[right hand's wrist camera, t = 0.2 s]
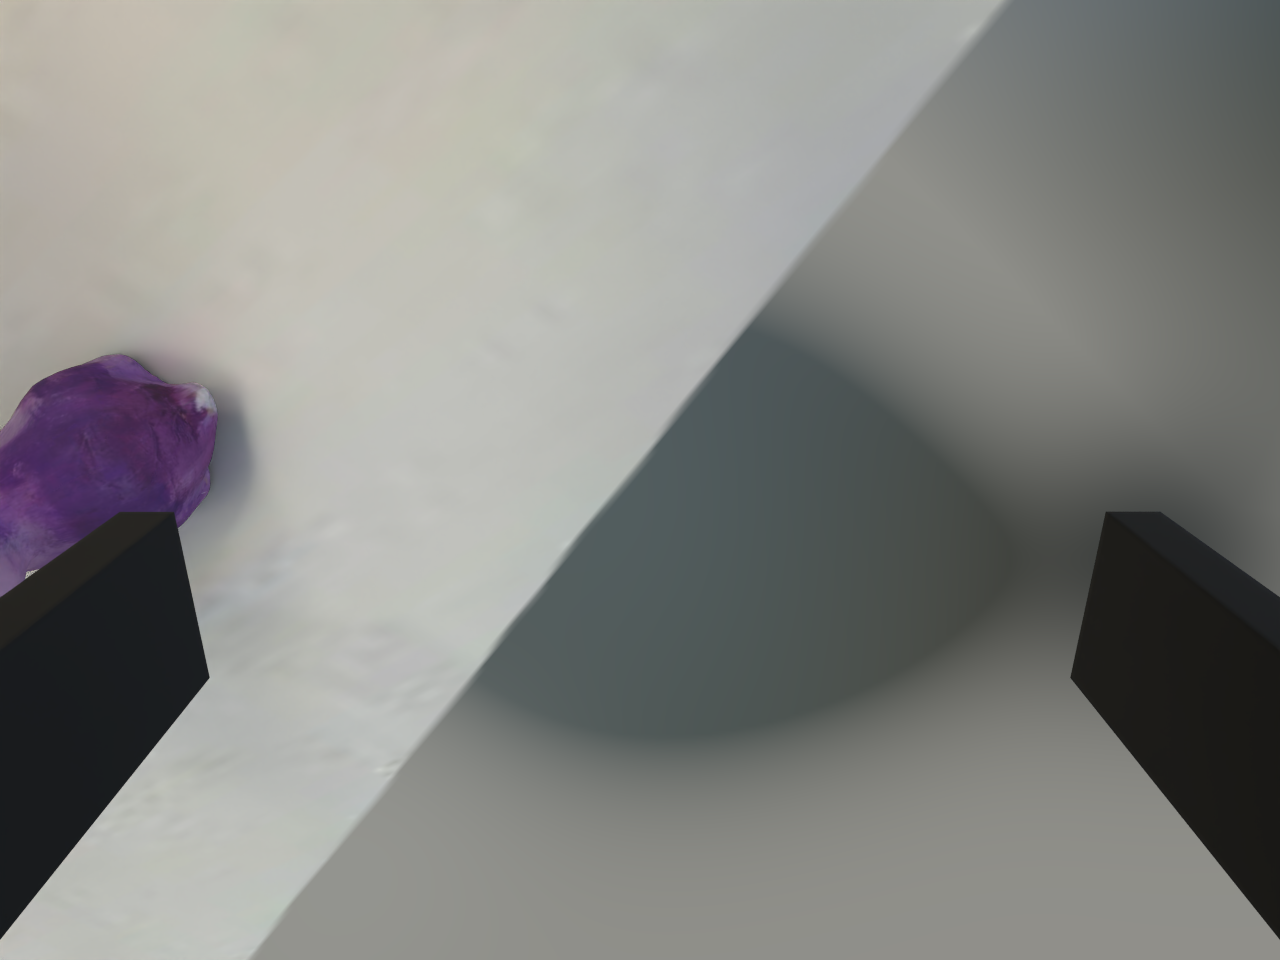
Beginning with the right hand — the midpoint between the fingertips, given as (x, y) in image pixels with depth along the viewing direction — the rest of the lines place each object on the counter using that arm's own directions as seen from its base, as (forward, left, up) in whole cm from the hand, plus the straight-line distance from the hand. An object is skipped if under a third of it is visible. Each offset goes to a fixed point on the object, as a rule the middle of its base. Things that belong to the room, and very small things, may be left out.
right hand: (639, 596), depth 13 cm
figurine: (+8, -24, -28) cm, 38 cm away
